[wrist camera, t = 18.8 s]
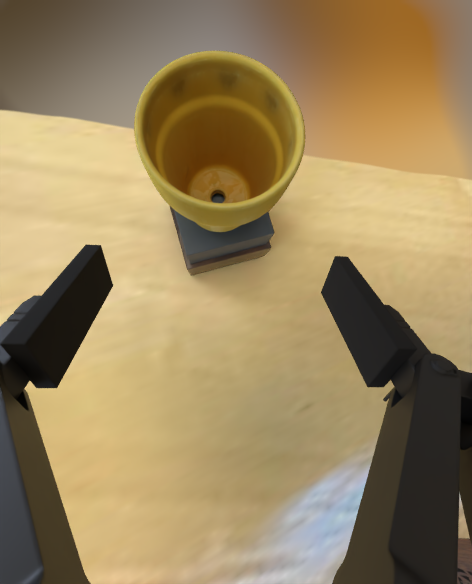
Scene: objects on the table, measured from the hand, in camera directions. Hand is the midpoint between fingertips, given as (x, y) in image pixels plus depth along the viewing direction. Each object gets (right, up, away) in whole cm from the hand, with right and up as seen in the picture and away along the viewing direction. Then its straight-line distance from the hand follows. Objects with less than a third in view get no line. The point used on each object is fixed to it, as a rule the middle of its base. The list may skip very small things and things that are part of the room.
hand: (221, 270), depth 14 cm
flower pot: (-1, +8, +10) cm, 13 cm away
